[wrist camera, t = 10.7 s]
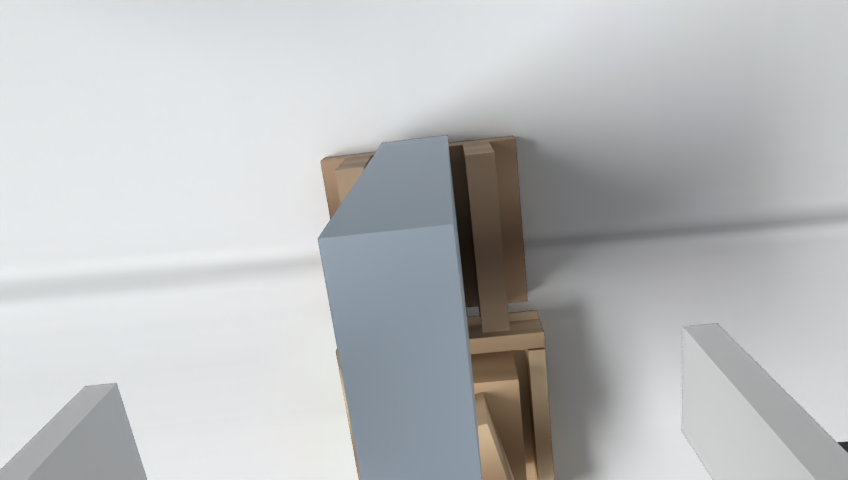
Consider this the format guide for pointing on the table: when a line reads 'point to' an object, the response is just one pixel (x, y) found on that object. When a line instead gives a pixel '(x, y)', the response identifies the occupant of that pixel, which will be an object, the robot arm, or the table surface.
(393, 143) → the grey panel
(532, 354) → the oak rack
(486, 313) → the walnut holder
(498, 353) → the oak offcut low
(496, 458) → the oak offcut top
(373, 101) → the table surface
